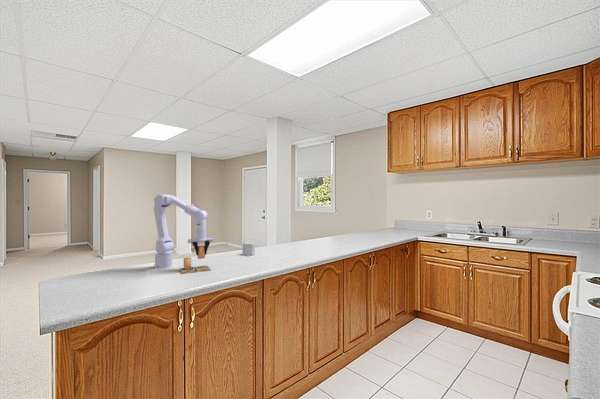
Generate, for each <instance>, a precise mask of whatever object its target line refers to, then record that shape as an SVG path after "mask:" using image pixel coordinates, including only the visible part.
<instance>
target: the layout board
mask: <svg viewBox="0 0 600 399" xmlns="http://www.w3.org/2000/svg"><path fill="white" fill-rule="evenodd" d="M211 271H212V269H211V267H210V266H209V264H208V265H196V266H191V270H185V271H184V267H180V268H179V274H180V275H187V274H195V273H202V272H211Z"/></svg>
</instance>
